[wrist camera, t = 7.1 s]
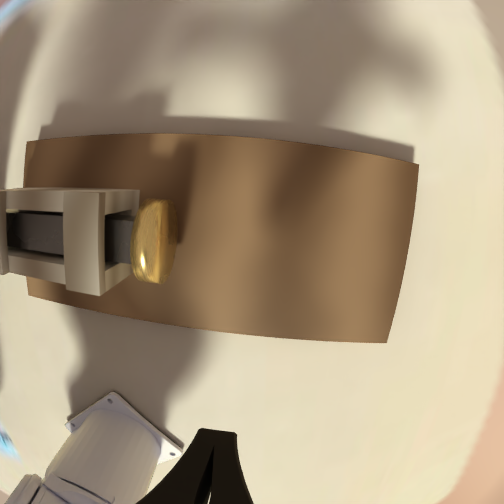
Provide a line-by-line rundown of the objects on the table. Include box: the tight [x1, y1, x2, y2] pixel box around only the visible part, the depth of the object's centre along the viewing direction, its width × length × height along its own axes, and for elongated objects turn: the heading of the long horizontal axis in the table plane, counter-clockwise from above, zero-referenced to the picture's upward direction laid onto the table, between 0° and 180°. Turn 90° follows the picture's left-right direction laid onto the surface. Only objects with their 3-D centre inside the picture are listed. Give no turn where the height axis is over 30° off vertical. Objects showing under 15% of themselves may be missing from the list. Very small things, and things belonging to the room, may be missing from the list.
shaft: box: [6, 199, 178, 284], centre depth 14 cm, size 12×4×4 cm, turn 84°
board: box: [0, 133, 419, 343], centre depth 15 cm, size 25×11×6 cm, turn 85°
